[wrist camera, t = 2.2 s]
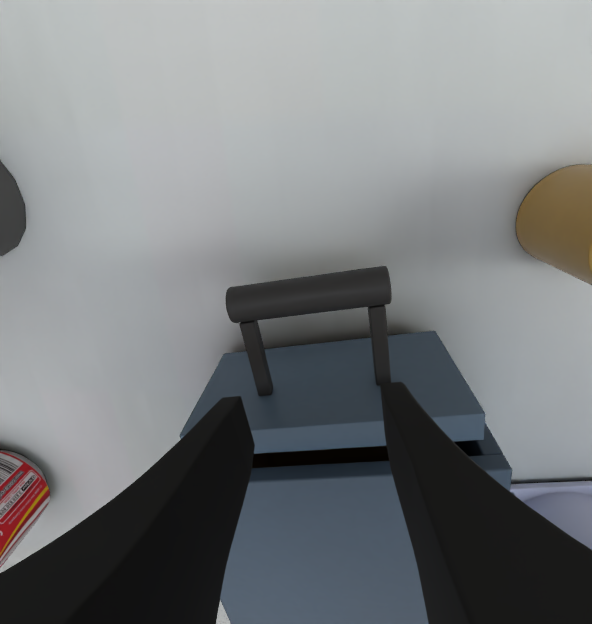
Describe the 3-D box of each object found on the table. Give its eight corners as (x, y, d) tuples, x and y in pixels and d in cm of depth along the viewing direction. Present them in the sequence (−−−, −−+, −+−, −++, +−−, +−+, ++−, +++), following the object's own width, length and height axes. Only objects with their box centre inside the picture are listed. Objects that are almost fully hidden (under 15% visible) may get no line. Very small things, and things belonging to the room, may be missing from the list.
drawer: (198, 268, 17) (133, 322, 11) (433, 233, 15) (493, 276, 10) (269, 507, 24) (250, 615, 18) (438, 501, 22) (475, 618, 16)
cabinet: (225, 371, 21) (169, 486, 13) (443, 349, 19) (513, 469, 11) (270, 521, 26) (247, 662, 19) (444, 516, 24) (493, 671, 17)
